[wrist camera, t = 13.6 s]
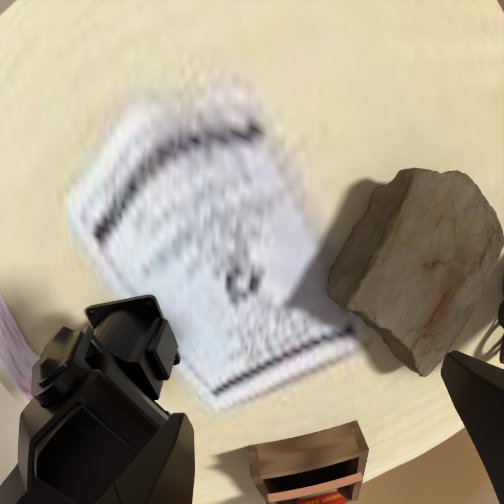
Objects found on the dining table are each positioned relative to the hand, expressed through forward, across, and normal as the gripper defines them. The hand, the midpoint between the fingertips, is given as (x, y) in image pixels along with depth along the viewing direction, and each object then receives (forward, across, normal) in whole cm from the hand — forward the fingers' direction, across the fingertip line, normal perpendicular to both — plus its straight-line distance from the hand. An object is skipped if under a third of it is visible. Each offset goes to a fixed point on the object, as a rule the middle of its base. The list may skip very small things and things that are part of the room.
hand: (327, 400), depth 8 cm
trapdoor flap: (+9, -1, +31) cm, 32 cm away
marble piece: (+14, -12, +3) cm, 18 cm away
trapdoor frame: (+13, -1, +31) cm, 33 cm away
